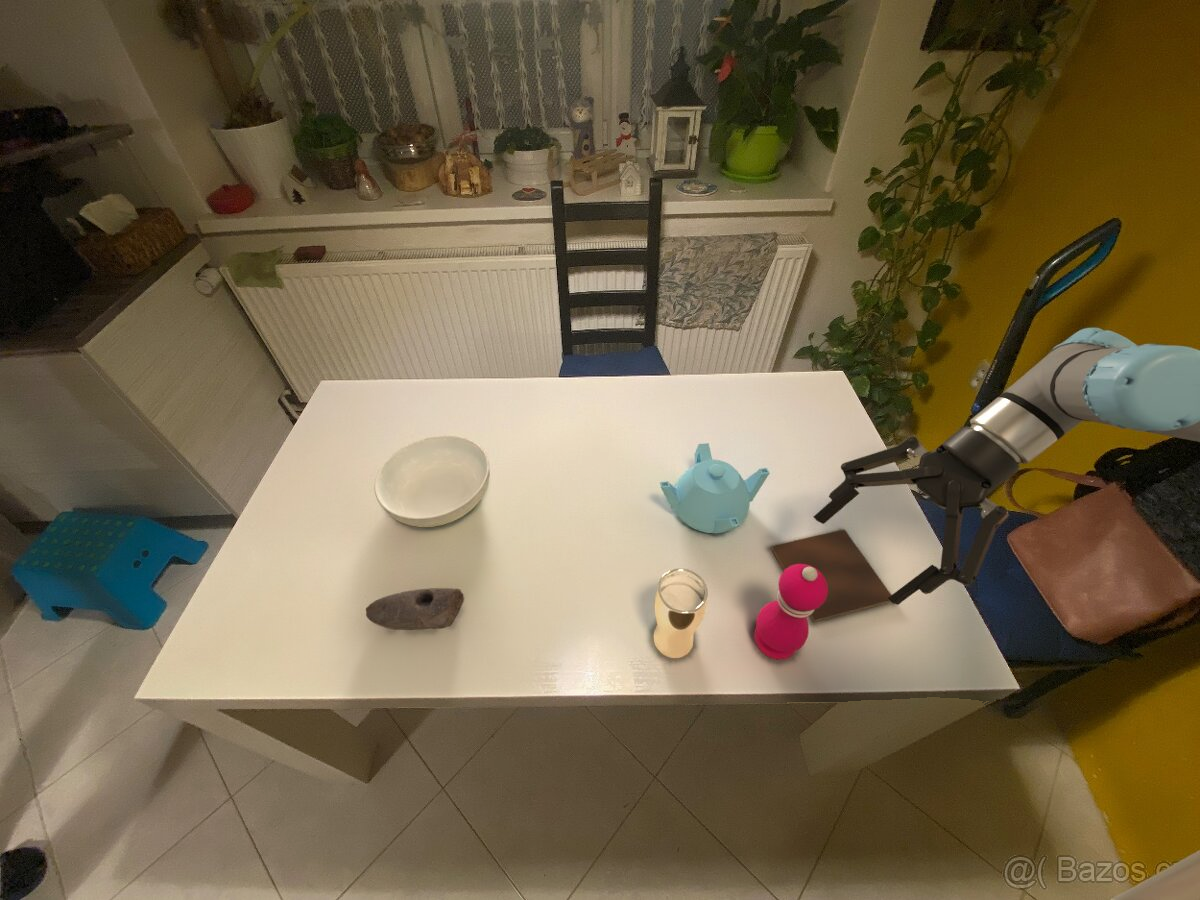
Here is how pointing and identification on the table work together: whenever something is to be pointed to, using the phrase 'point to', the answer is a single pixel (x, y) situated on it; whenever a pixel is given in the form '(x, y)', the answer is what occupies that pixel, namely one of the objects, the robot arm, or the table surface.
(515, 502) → the table surface
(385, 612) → the perforated stone tool
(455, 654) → the table surface
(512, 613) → the table surface
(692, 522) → the teapot
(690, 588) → the beer glass
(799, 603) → the pepper mill
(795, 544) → the walnut board
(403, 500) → the serving bowl
